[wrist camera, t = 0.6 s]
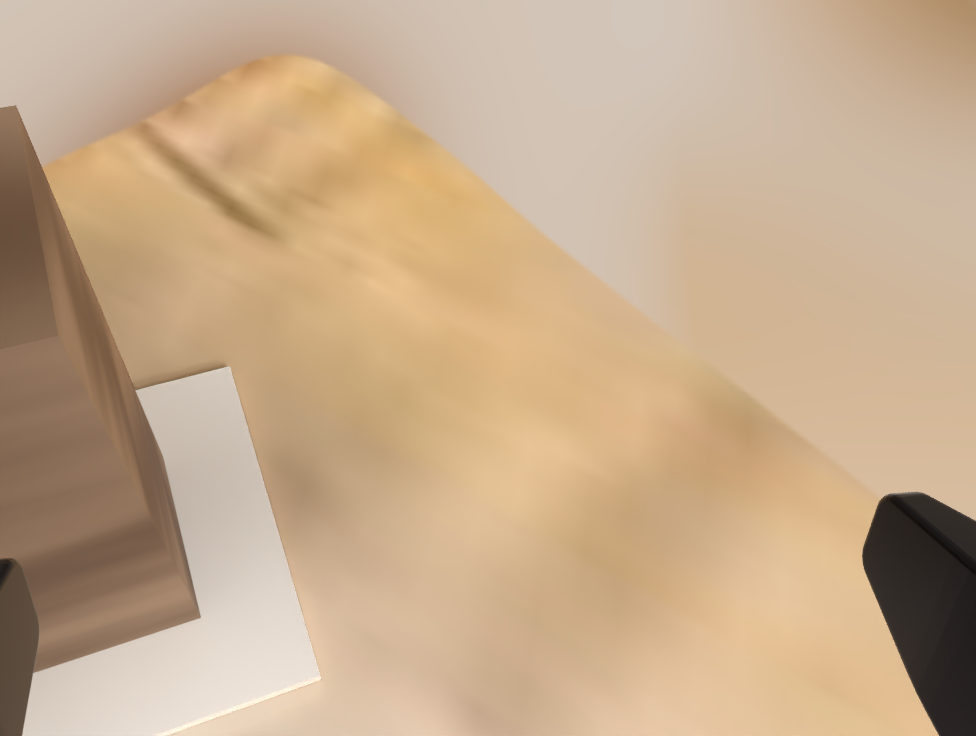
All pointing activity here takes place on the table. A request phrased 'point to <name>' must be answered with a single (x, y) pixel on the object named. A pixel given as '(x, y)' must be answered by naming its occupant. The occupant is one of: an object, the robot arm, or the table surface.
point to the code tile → (218, 587)
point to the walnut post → (75, 441)
